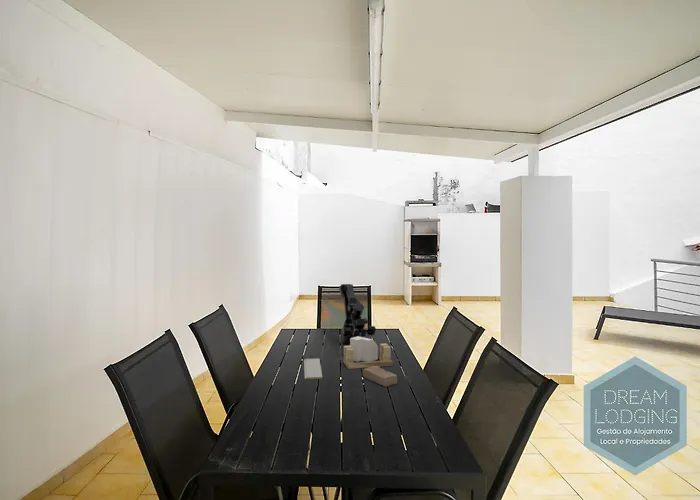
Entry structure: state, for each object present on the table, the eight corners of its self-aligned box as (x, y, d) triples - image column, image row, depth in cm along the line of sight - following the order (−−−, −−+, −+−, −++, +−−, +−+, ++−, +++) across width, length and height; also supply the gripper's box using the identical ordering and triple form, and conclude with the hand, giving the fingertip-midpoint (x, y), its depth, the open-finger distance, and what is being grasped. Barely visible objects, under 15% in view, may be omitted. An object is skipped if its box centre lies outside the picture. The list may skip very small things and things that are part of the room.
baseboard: (301, 380, 206) (322, 380, 207) (301, 374, 205) (322, 374, 207) (301, 361, 236) (319, 361, 237) (301, 356, 235) (319, 356, 237)
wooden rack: (343, 362, 233) (343, 345, 232) (385, 359, 238) (386, 343, 238) (348, 368, 221) (348, 351, 221) (392, 365, 227) (392, 349, 226)
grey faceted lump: (349, 359, 237) (350, 338, 236) (363, 355, 245) (363, 334, 245) (364, 363, 230) (365, 341, 229) (377, 359, 238) (377, 337, 238)
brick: (398, 383, 201) (398, 373, 201) (384, 387, 196) (384, 377, 196) (375, 374, 214) (375, 365, 214) (362, 377, 209) (362, 368, 209)
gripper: (343, 313, 245) (347, 337, 234) (375, 312, 249) (380, 335, 239) (340, 324, 253) (344, 347, 242) (371, 323, 257) (376, 345, 247)
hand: (361, 344), depth 242 cm, fingers closed
